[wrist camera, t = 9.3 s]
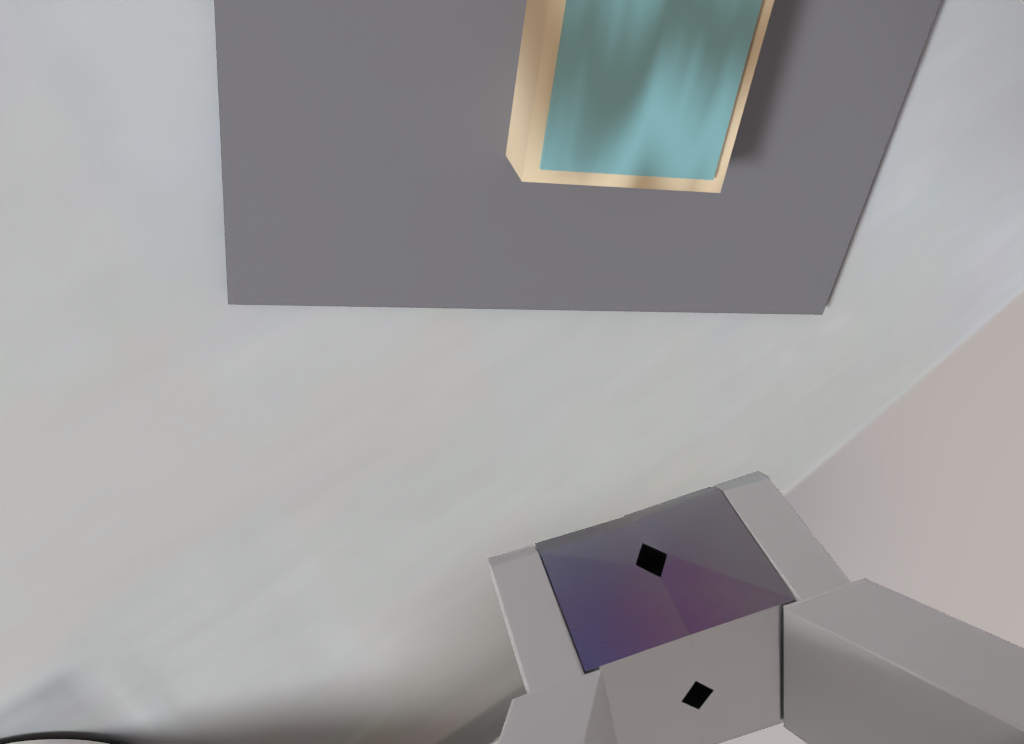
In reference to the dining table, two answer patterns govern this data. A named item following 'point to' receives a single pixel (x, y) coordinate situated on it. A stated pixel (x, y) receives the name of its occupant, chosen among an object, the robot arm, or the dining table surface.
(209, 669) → the dining table surface
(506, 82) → the rubber mat
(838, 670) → the robot arm
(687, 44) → the birch tile
